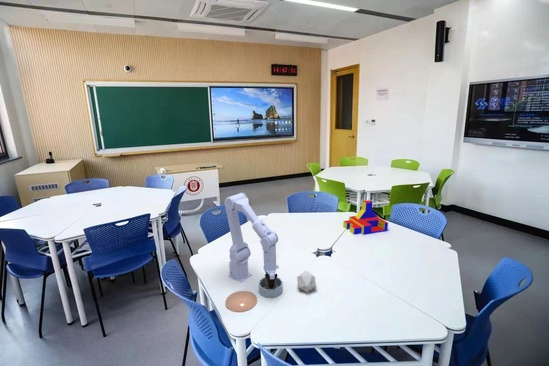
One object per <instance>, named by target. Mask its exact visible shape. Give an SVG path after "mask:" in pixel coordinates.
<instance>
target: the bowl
mask: <svg viewBox="0 0 549 366" xmlns="http://www.w3.org/2000/svg"><path fill="white" fill-rule="evenodd" d="M283 283H284V282H283V280H282V279H281V278H280V277H278V276H277V278H276V289H266V285H265V277H262V278H261V279H260V280H259V282H258V293H259V294H260V296H262V297H264V298H268V299H274V298H277V297H279V296H281V295H282V294H283V291H284V287H283V286H284V285H283Z"/></svg>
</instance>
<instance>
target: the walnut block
mask: <svg viewBox="0 0 549 366" xmlns="http://www.w3.org/2000/svg"><path fill="white" fill-rule="evenodd" d="M265 285H266V289H276V280H275V284H274V287H273V288H269V285H268V281H267V279H266V277H265Z"/></svg>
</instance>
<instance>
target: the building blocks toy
mask: <svg viewBox="0 0 549 366" xmlns="http://www.w3.org/2000/svg"><path fill="white" fill-rule="evenodd" d="M342 224H343V225H342V227H343V228H344V229H345V230H349V233H351V234H352V235H359V234H361V235H363V236H365V235H372V234H377V233H385V232H388V228H389V222H388V221H386V220H385V219H383V218H380V217H379V216H378V215H377V214H376V213H375V212H374V211H373V202H372V201H370V200H363V201H361V209H360V211H359V212H358V213H357V214H356V215H352V216H349V217H348V220H347V219H346V220H343V223H342Z"/></svg>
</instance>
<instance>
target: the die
mask: <svg viewBox="0 0 549 366" xmlns="http://www.w3.org/2000/svg"><path fill="white" fill-rule="evenodd" d="M296 278H297V279H296V281H297V287H298V288H299V289H301V290H302V291H303V292H306V293H309V292H310V291H312V290H313V289H314V288H316V287H317V283H316V282H317V281H316V276H315V275H313V274H311V273H310V272H309V271H308V270H304V271H303V272H302V273H300V274H299V275H297V277H296Z"/></svg>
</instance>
